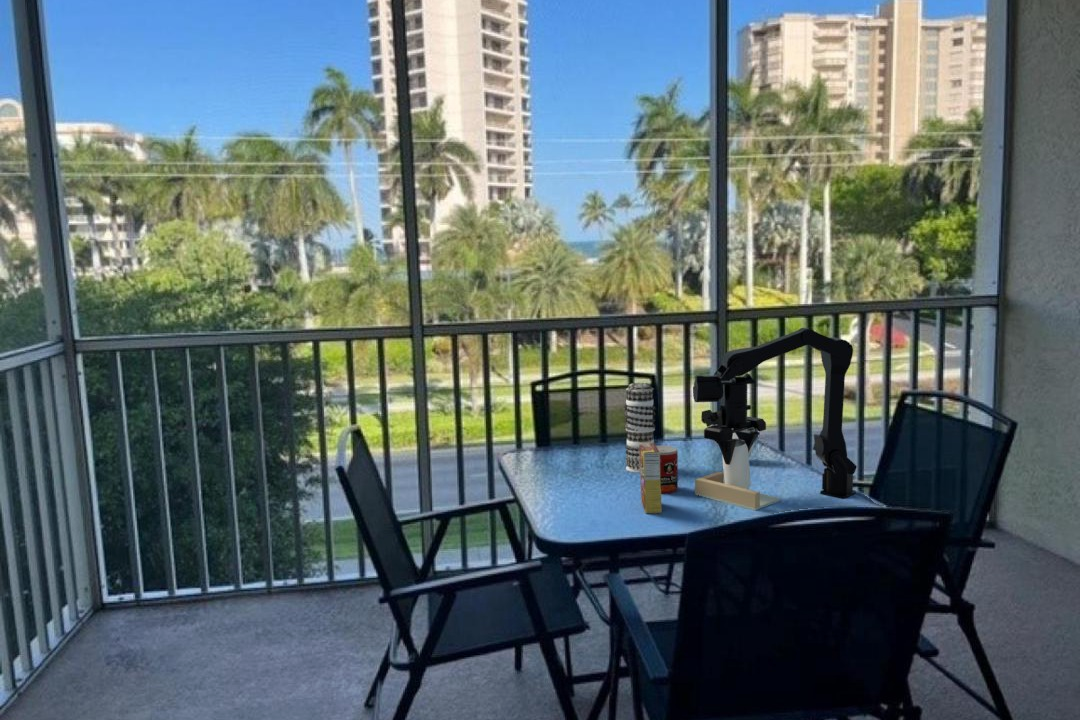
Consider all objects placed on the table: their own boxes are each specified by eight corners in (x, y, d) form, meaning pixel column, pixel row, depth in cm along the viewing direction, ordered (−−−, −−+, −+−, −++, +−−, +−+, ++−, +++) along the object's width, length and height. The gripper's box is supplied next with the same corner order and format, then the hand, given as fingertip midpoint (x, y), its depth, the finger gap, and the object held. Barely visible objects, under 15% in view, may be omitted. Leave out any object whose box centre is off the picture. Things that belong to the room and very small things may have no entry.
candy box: (639, 502, 197) (638, 443, 195) (656, 502, 197) (656, 442, 195) (643, 514, 189) (643, 451, 187) (661, 513, 188) (661, 451, 187)
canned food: (655, 495, 203) (655, 453, 202) (643, 486, 211) (643, 446, 209) (683, 492, 205) (682, 450, 204) (670, 483, 213) (669, 444, 211)
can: (722, 491, 199) (718, 446, 197) (728, 481, 205) (724, 438, 202) (748, 492, 196) (744, 447, 194) (753, 482, 202) (749, 438, 200)
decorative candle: (621, 472, 226) (620, 386, 223) (628, 463, 234) (627, 381, 231) (653, 474, 223) (652, 387, 220) (658, 465, 232) (658, 381, 228)
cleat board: (780, 500, 196) (780, 484, 195) (754, 510, 189) (755, 493, 188) (721, 486, 210) (721, 471, 209) (695, 494, 202) (695, 479, 202)
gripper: (730, 392, 209) (730, 450, 211) (686, 402, 197) (686, 463, 199) (767, 397, 201) (766, 457, 203) (723, 408, 189) (723, 471, 191)
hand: (735, 461), depth 199 cm, fingers closed on can, 6 cm apart
